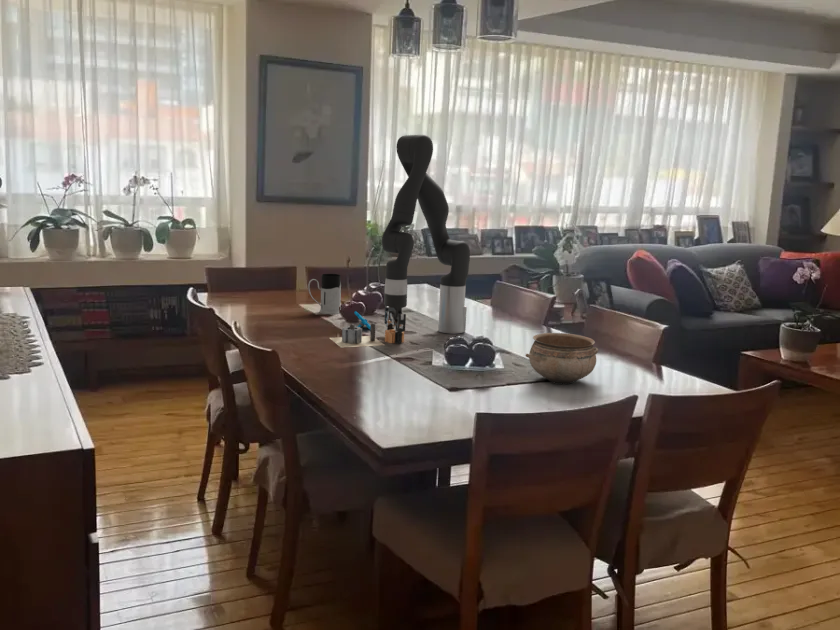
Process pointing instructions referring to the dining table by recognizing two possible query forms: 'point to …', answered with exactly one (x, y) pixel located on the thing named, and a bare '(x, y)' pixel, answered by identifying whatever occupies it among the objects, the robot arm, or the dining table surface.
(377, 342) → the peg board
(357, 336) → the gear
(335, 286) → the white and black mug
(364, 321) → the blue sprocket wheel
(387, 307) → the robot arm
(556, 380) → the cooking pot
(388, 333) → the gear
